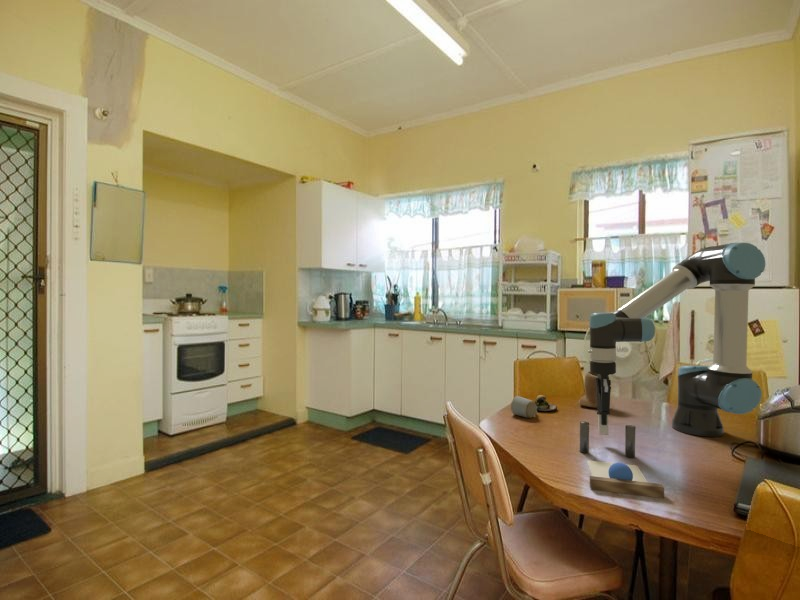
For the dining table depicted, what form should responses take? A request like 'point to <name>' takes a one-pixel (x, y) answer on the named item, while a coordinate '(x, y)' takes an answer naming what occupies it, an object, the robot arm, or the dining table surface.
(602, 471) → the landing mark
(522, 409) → the ceramic mug
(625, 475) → the ball
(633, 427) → the right post
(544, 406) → the plate of salad
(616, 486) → the stopper wall
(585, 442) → the left post
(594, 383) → the brown boot
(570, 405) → the dining table surface
